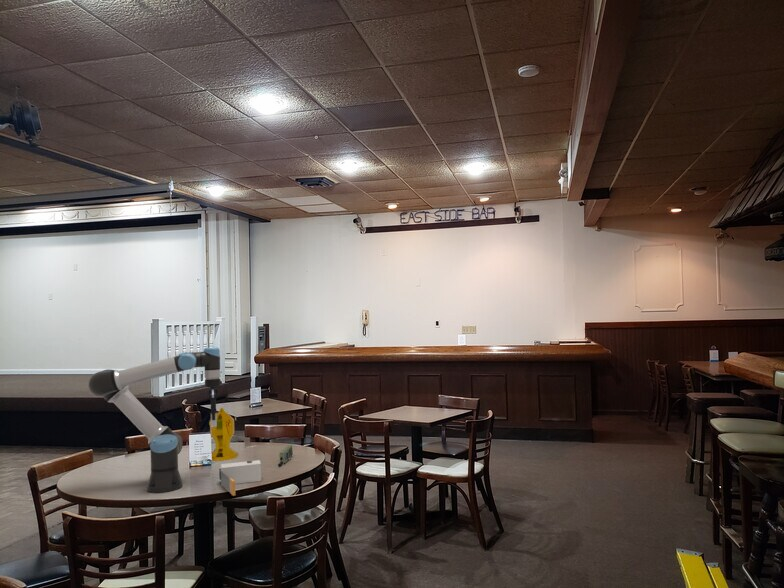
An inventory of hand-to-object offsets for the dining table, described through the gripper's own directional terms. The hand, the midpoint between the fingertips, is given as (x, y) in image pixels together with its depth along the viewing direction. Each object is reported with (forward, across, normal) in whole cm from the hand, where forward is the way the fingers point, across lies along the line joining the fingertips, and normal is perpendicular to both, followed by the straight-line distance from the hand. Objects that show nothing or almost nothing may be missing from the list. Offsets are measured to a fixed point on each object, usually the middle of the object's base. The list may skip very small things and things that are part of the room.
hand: (213, 426), depth 284 cm
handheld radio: (+25, +17, -36) cm, 47 cm away
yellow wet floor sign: (+25, +43, -3) cm, 50 cm away
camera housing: (+24, -15, -12) cm, 31 cm away
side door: (+23, -31, -6) cm, 39 cm away
